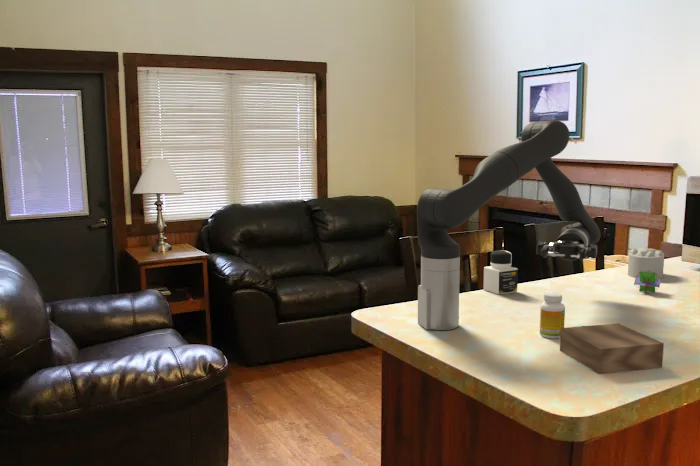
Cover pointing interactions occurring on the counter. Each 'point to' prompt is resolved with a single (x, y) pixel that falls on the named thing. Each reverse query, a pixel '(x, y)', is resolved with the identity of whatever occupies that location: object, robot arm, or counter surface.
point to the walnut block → (611, 348)
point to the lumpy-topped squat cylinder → (645, 261)
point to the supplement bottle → (552, 315)
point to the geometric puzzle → (648, 281)
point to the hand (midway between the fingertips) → (562, 254)
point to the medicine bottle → (500, 274)
